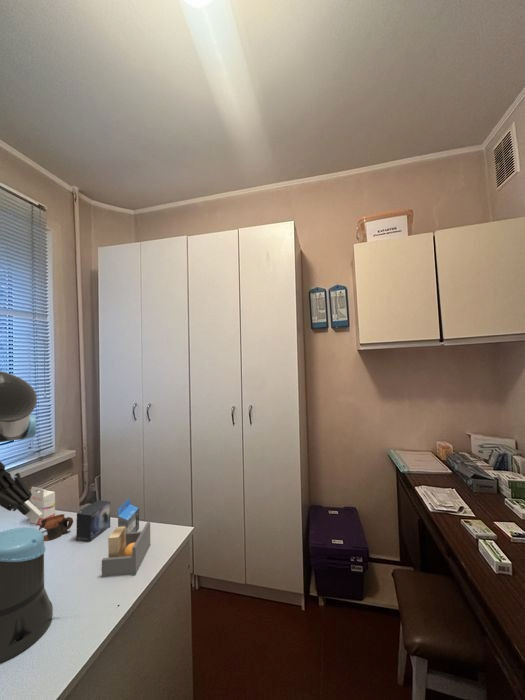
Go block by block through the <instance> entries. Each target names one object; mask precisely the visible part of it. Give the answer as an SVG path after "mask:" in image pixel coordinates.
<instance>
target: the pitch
mask: <svg viewBox="0 0 525 700" xmlns="http://www.w3.org/2000/svg"><path fill="white" fill-rule="evenodd" d="M131 543H135V544H134V546H133V547H132V556H123V557H111V558H109V557H103V558H102V560H101V578H104V577H105V578H106V577H117V576H127V575H131V576H132V577H136V576H137V573H138V572H139V569H140V567H141V565H142V563H143V561H144V559H145V557H146V555H147V553H148V551H149V549H150V547H151V521H147V522H146V524H145V525H144V527H143V529H142V530H140V531H139V530H138V531H137V532H126V547H127V546H128V545H129V544H131Z"/></svg>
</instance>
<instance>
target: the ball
mask: <svg viewBox="0 0 525 700" xmlns="http://www.w3.org/2000/svg"><path fill="white" fill-rule="evenodd" d="M134 544H135V543H131V544H129V545H128V546H127V547H126V548H125V551H124V556H132V547H133V546H134Z"/></svg>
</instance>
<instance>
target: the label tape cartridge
mask: <svg viewBox="0 0 525 700" xmlns="http://www.w3.org/2000/svg"><path fill="white" fill-rule="evenodd" d="M125 526H126V532H138V531H139V529H140V508H139V507H137V506H135V505H133V504H131V498H130V497H129V498H128V499H126V501H124V502H123V503H122V504H121V505H120V506H119V507H118V508H117V527H125Z"/></svg>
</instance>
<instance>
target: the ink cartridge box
mask: <svg viewBox="0 0 525 700" xmlns="http://www.w3.org/2000/svg"><path fill="white" fill-rule="evenodd" d="M30 492H31V494H32V495H31V498H30V501H31V502H32V503H33V504H34V505H35V506H36V508H37V509H38V510H39V511H41V512H42V513H43V514H42V515H41V516H40V517H39V518H38V519H37V520H36V521H35V522H32V521H31V520H30V523H31V524H35V525H39V526H40V525H41V524H42V522H41V521H42V520H44V519H47V518H49V517H53V516H56V491H51V490H46V489H44V488H41V487H36V486H31V491H30Z"/></svg>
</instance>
